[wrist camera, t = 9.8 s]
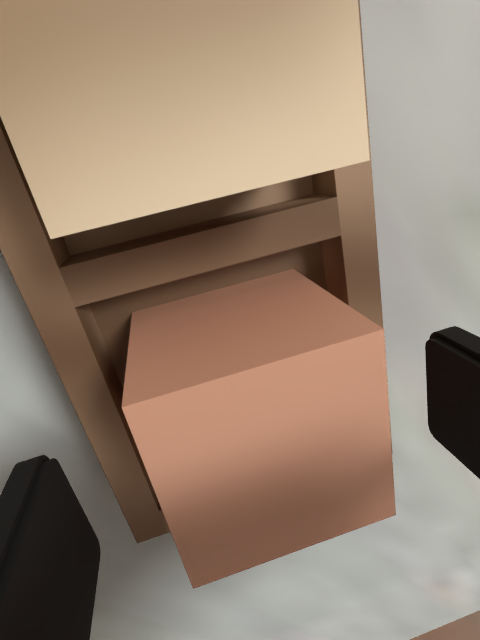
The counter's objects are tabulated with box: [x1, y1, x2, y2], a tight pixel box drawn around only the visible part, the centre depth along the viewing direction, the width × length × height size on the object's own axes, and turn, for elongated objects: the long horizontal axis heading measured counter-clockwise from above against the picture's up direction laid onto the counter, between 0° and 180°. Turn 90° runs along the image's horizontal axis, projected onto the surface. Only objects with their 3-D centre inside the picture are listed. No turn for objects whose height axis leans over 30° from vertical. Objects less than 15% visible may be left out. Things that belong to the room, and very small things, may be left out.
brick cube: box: [122, 269, 396, 589], centre depth 10 cm, size 5×5×5 cm
